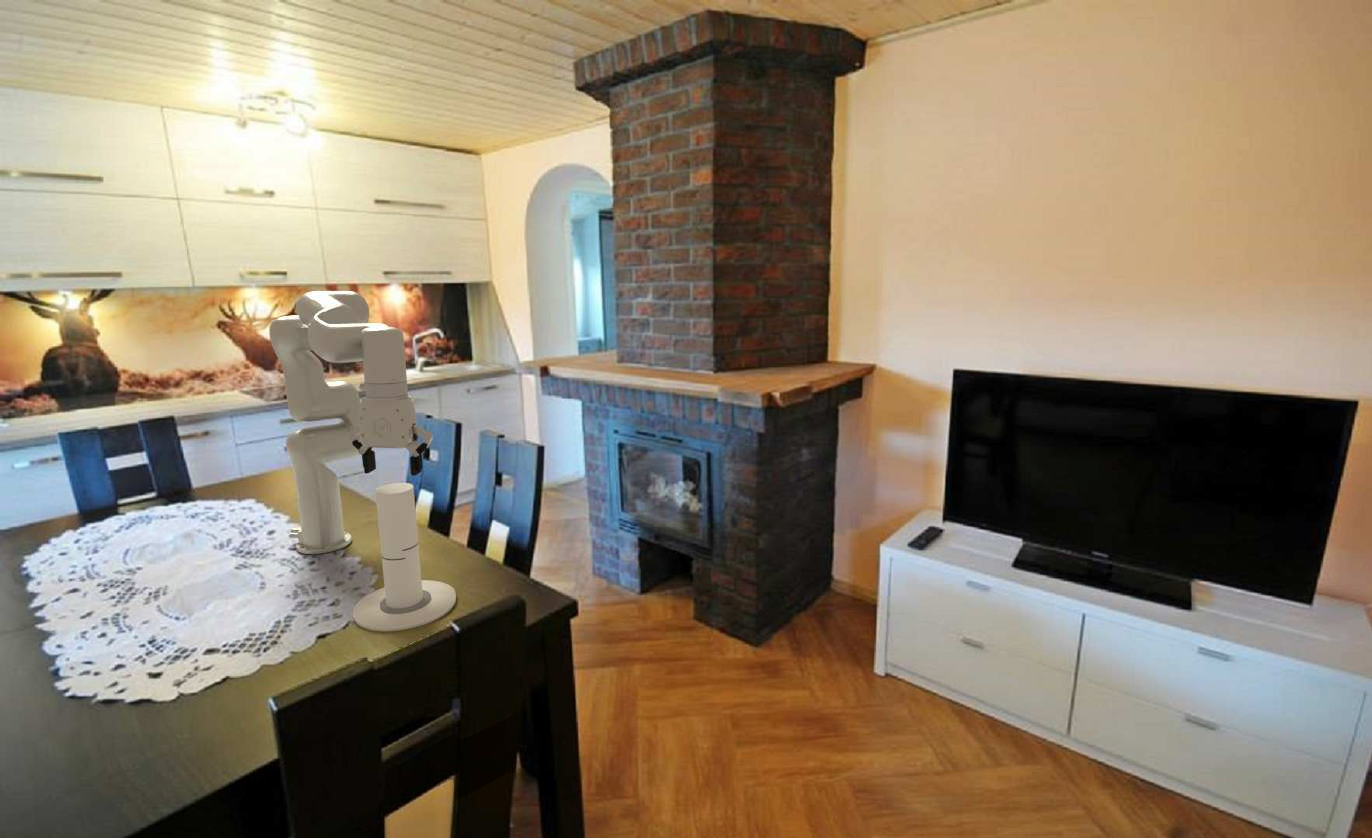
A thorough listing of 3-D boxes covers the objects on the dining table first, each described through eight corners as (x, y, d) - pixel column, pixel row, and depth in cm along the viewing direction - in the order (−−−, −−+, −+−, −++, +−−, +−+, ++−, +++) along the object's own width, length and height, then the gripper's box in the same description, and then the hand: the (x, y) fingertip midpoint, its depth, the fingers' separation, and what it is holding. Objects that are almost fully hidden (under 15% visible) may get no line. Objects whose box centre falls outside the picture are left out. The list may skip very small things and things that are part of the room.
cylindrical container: (428, 599, 132) (419, 488, 127) (394, 611, 127) (383, 496, 122) (413, 588, 137) (404, 480, 132) (380, 600, 132) (369, 488, 127)
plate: (332, 629, 123) (331, 622, 123) (385, 582, 143) (385, 576, 142) (430, 633, 122) (429, 627, 122) (470, 586, 142) (470, 580, 141)
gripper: (332, 391, 120) (341, 476, 123) (420, 395, 119) (426, 480, 122) (355, 385, 127) (362, 465, 131) (437, 388, 126) (442, 469, 130)
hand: (393, 472), depth 127 cm, fingers open, 9 cm apart
